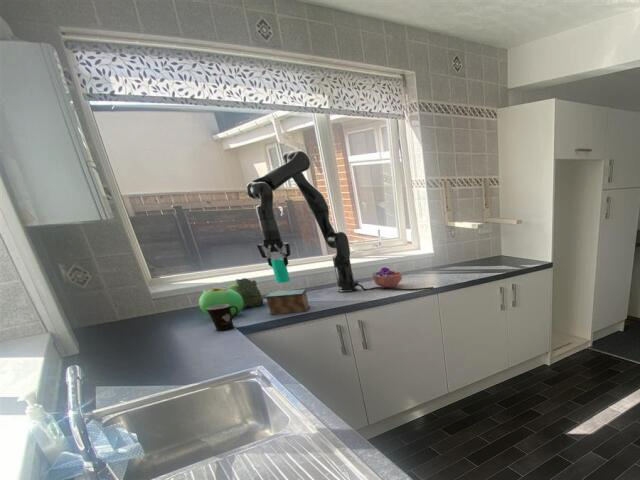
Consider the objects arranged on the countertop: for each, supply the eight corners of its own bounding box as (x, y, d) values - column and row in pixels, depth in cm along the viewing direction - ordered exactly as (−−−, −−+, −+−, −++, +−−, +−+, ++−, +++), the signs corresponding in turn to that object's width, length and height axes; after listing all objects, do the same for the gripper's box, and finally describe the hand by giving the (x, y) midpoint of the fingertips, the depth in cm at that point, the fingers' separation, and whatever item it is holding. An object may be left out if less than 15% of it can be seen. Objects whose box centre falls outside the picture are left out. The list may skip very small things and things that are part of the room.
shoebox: (310, 306, 220) (305, 289, 216) (306, 311, 211) (301, 293, 207) (275, 309, 216) (270, 291, 213) (270, 314, 207) (265, 296, 203)
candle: (281, 283, 204) (274, 257, 198) (274, 282, 207) (267, 257, 201) (292, 280, 208) (286, 255, 203) (285, 279, 211) (279, 255, 206)
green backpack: (223, 306, 222) (214, 278, 215) (264, 302, 230) (257, 275, 222) (221, 313, 214) (211, 284, 206) (264, 309, 221) (256, 281, 214)
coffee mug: (215, 333, 183) (208, 310, 178) (212, 328, 189) (204, 307, 184) (245, 327, 189) (239, 305, 185) (241, 323, 195) (235, 302, 191)
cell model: (377, 292, 245) (373, 272, 240) (372, 285, 261) (369, 267, 256) (406, 288, 251) (403, 269, 246) (399, 282, 267) (397, 264, 262)
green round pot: (200, 323, 197) (189, 292, 190) (209, 314, 211) (199, 285, 204) (244, 318, 202) (234, 288, 196) (250, 309, 217) (241, 281, 210)
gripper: (287, 227, 202) (296, 263, 209) (255, 229, 199) (265, 265, 206) (284, 229, 195) (293, 266, 202) (250, 230, 192) (260, 268, 199)
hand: (279, 265), depth 204 cm, fingers closed on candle, 6 cm apart
